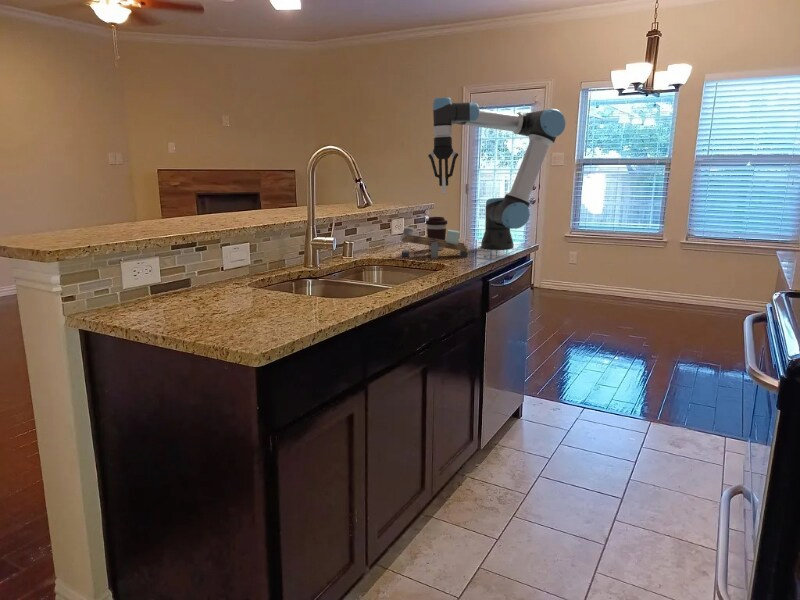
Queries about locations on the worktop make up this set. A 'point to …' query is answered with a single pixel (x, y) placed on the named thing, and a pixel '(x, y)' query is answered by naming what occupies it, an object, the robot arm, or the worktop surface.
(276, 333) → the worktop surface
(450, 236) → the light blue block
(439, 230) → the coffee cup
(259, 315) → the worktop surface
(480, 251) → the worktop surface
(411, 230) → the beam
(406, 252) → the fulcrum
